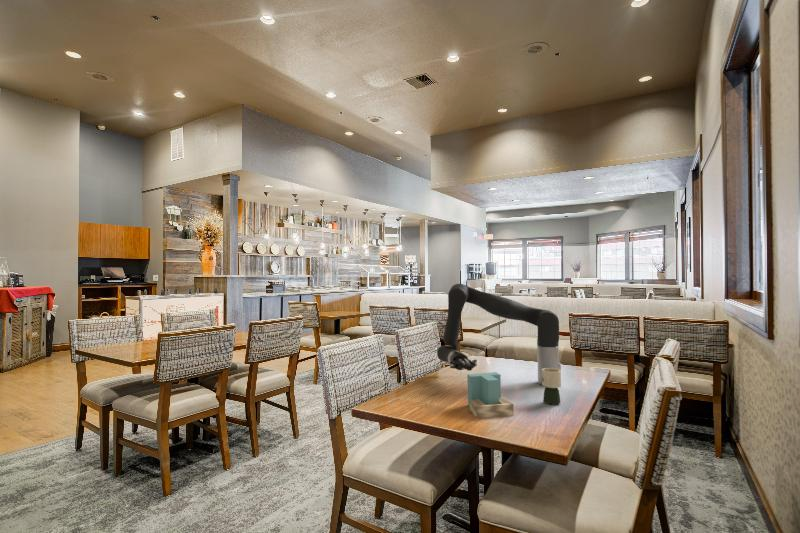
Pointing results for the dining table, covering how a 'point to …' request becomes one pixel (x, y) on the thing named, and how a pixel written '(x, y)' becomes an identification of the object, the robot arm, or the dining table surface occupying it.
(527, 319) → the robot arm
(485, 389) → the t block
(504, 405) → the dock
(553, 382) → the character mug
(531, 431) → the dining table surface
